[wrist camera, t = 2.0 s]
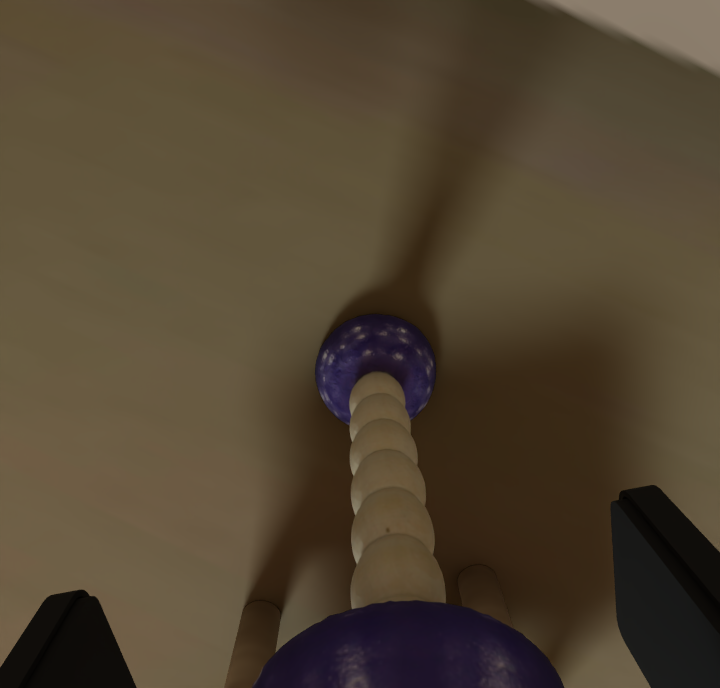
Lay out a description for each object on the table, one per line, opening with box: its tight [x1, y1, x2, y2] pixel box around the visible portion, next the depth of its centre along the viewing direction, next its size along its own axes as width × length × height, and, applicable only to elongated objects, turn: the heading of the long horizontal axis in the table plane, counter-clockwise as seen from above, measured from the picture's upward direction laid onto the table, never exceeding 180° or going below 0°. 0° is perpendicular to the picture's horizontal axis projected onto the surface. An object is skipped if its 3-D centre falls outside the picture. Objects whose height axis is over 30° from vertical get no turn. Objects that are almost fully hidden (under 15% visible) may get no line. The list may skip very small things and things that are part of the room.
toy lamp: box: [252, 314, 564, 688], centre depth 12 cm, size 5×5×17 cm
